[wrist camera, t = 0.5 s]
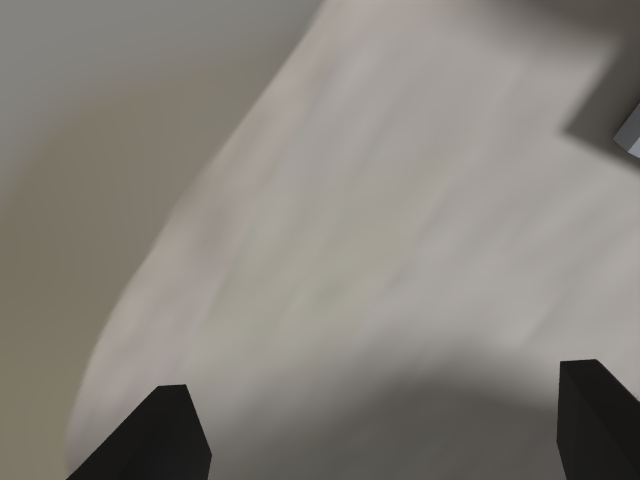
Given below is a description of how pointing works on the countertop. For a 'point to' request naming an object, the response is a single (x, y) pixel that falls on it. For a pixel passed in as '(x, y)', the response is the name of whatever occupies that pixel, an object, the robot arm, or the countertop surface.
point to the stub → (630, 133)
